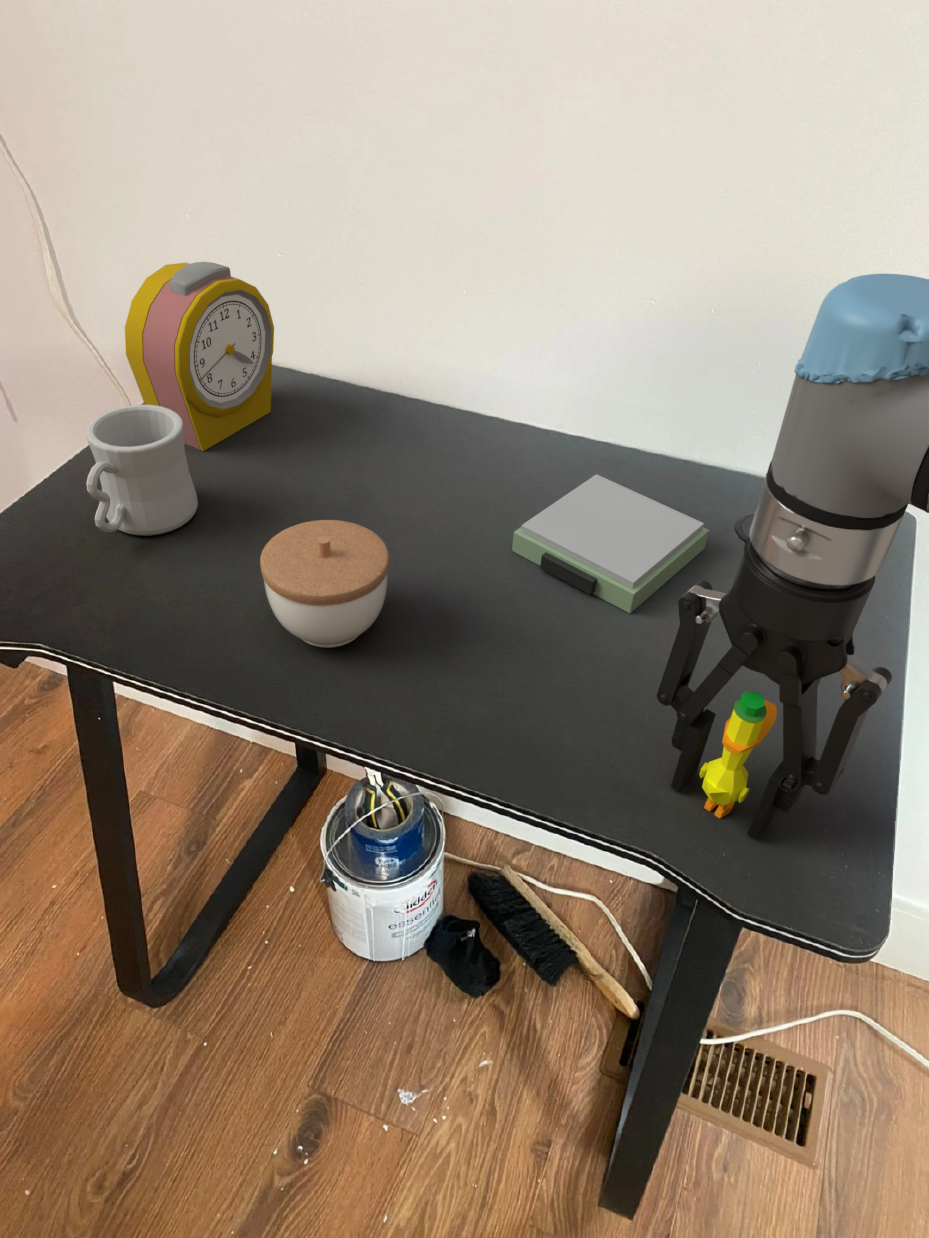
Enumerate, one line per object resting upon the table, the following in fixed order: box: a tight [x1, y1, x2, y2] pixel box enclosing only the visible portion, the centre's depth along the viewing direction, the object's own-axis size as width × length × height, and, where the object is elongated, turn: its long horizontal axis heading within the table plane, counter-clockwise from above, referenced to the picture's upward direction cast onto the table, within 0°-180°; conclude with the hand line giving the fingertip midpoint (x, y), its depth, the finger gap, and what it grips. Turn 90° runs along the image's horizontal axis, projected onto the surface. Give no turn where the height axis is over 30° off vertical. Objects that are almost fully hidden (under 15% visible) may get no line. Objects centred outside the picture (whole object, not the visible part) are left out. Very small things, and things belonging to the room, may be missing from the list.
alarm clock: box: [124, 261, 275, 452], centre depth 102 cm, size 15×8×18 cm, turn 148°
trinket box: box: [259, 519, 390, 648], centre depth 79 cm, size 11×11×9 cm
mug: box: [85, 404, 199, 537], centre depth 89 cm, size 12×9×10 cm
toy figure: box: [699, 690, 778, 820], centre depth 65 cm, size 7×4×12 cm, turn 137°
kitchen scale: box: [511, 474, 710, 614], centre depth 91 cm, size 14×15×3 cm
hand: (721, 801), depth 69 cm, fingers open, 6 cm apart
